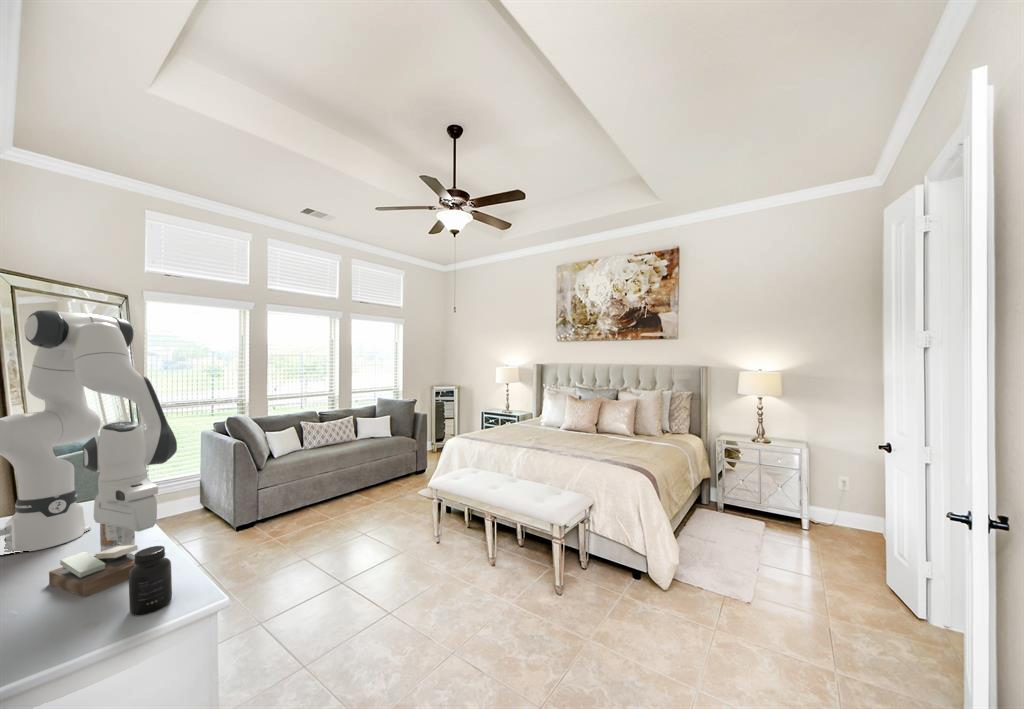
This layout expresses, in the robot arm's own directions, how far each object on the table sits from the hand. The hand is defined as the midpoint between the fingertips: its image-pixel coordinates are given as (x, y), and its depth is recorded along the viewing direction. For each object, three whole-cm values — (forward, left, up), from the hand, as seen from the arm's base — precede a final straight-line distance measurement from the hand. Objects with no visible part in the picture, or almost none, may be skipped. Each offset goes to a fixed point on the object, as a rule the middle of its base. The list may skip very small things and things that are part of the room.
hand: (124, 543), depth 101 cm
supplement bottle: (+24, -6, -8) cm, 26 cm away
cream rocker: (-3, 0, -3) cm, 5 cm away
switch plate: (-3, -3, -7) cm, 9 cm away
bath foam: (-18, +7, -8) cm, 21 cm away
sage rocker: (-3, -7, -3) cm, 8 cm away
